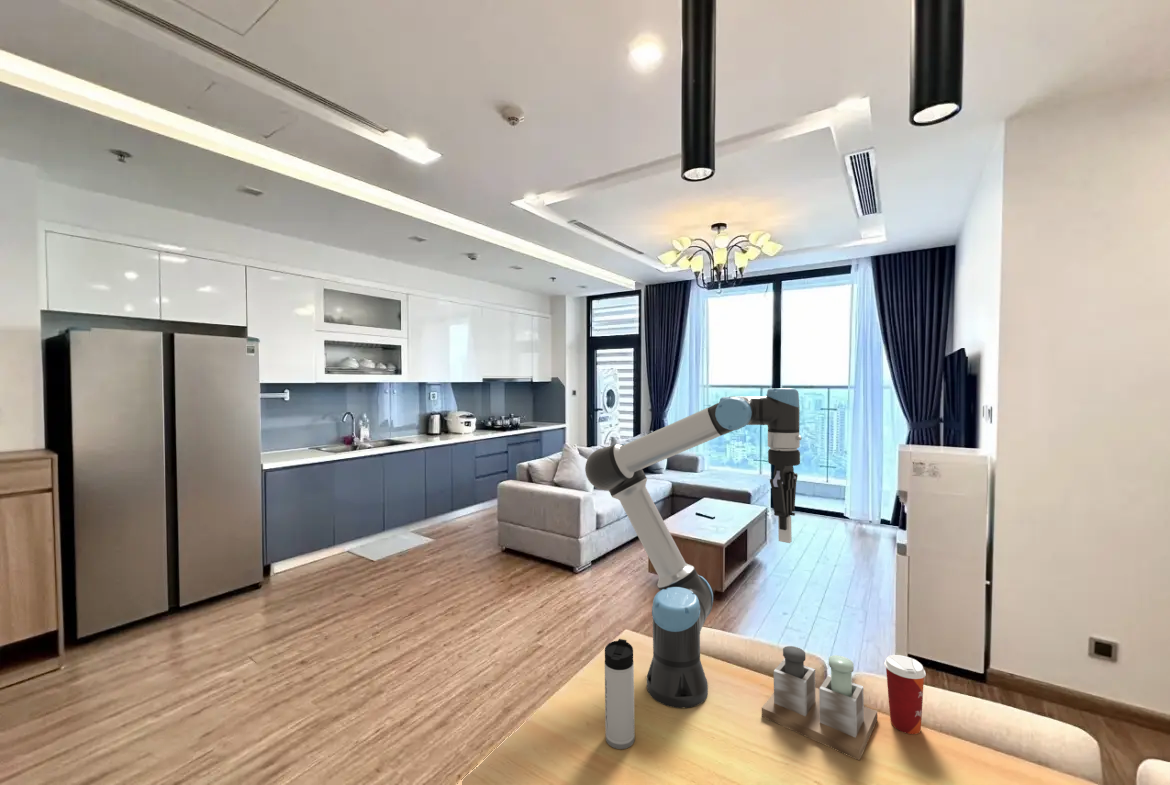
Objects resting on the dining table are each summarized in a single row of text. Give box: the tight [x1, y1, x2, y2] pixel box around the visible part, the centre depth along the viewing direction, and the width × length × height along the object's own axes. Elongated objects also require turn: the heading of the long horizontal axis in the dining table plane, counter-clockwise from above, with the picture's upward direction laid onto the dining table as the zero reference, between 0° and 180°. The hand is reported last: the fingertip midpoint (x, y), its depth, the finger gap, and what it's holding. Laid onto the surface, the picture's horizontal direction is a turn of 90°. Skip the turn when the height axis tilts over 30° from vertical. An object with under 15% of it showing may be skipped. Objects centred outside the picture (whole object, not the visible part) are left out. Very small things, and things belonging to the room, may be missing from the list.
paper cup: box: [883, 654, 927, 735], centre depth 107 cm, size 8×8×14 cm
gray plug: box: [782, 645, 806, 679], centre depth 112 cm, size 5×5×11 cm
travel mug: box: [604, 638, 636, 750], centre depth 104 cm, size 6×7×20 cm
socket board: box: [761, 657, 878, 761], centre depth 109 cm, size 20×16×10 cm
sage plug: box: [828, 654, 855, 697], centre depth 105 cm, size 5×5×11 cm
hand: (785, 541), depth 122 cm, fingers closed
